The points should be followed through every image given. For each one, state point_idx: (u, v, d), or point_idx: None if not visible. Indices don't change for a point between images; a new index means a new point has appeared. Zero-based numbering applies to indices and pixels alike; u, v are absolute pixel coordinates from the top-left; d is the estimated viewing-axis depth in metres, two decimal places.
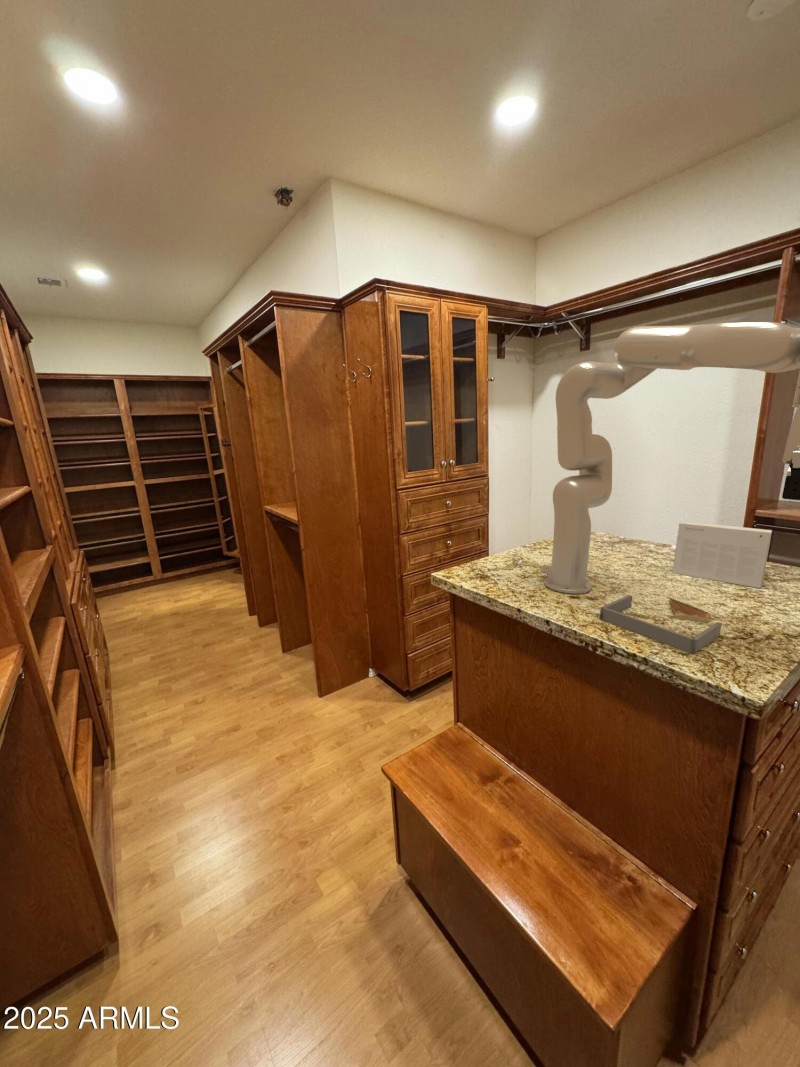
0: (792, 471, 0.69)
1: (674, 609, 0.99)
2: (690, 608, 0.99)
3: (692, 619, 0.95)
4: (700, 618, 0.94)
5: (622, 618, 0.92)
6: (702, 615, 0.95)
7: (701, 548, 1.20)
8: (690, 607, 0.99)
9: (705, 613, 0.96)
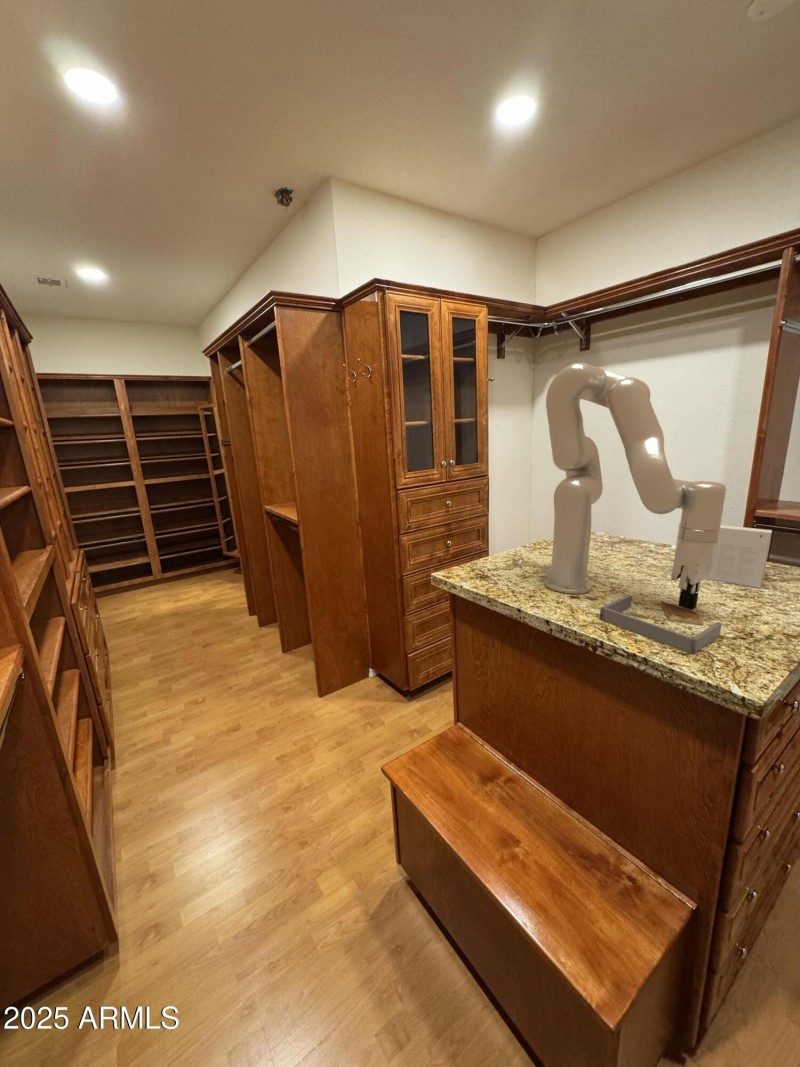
0: (683, 589, 0.98)
1: (668, 612, 0.97)
2: (683, 611, 0.98)
3: (687, 622, 0.94)
4: (695, 621, 0.93)
5: (622, 618, 0.92)
6: (696, 618, 0.94)
7: None
8: (682, 610, 0.98)
9: (698, 616, 0.95)
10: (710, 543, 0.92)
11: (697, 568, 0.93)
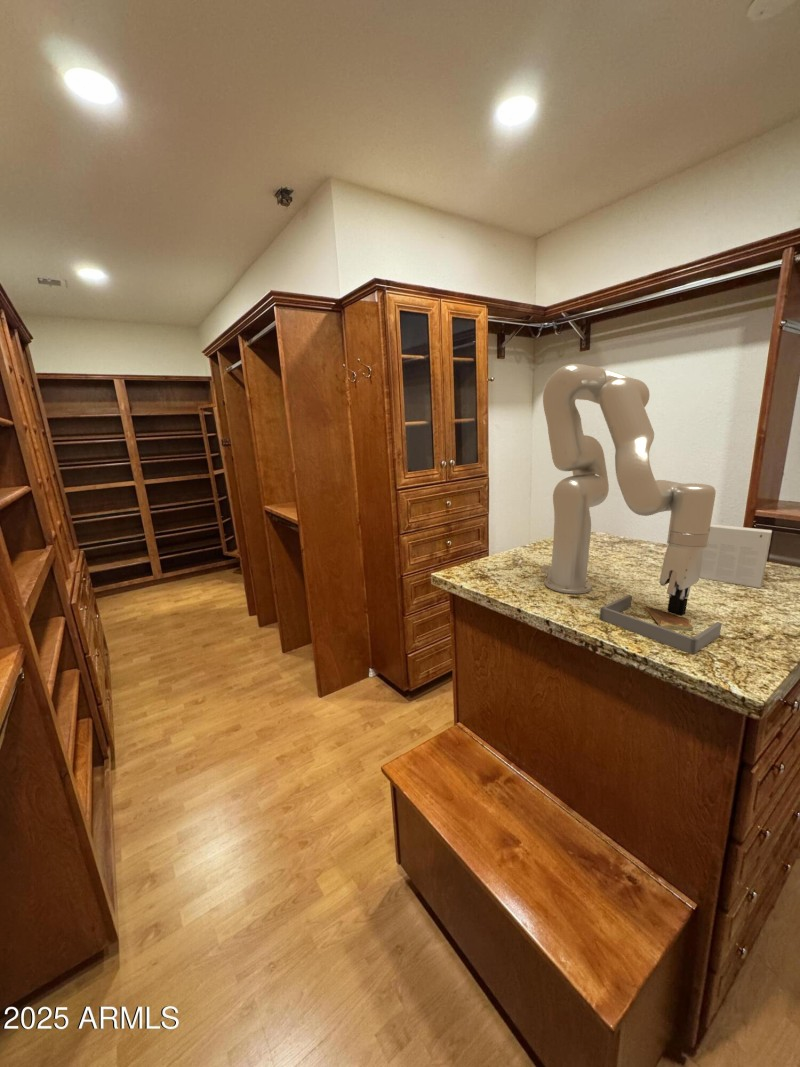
0: (671, 595, 0.95)
1: (656, 618, 0.94)
2: (670, 616, 0.95)
3: (677, 628, 0.91)
4: (685, 626, 0.90)
5: (622, 618, 0.92)
6: (686, 623, 0.91)
7: None
8: (669, 614, 0.96)
9: (686, 620, 0.93)
10: (699, 547, 0.89)
11: (686, 574, 0.90)
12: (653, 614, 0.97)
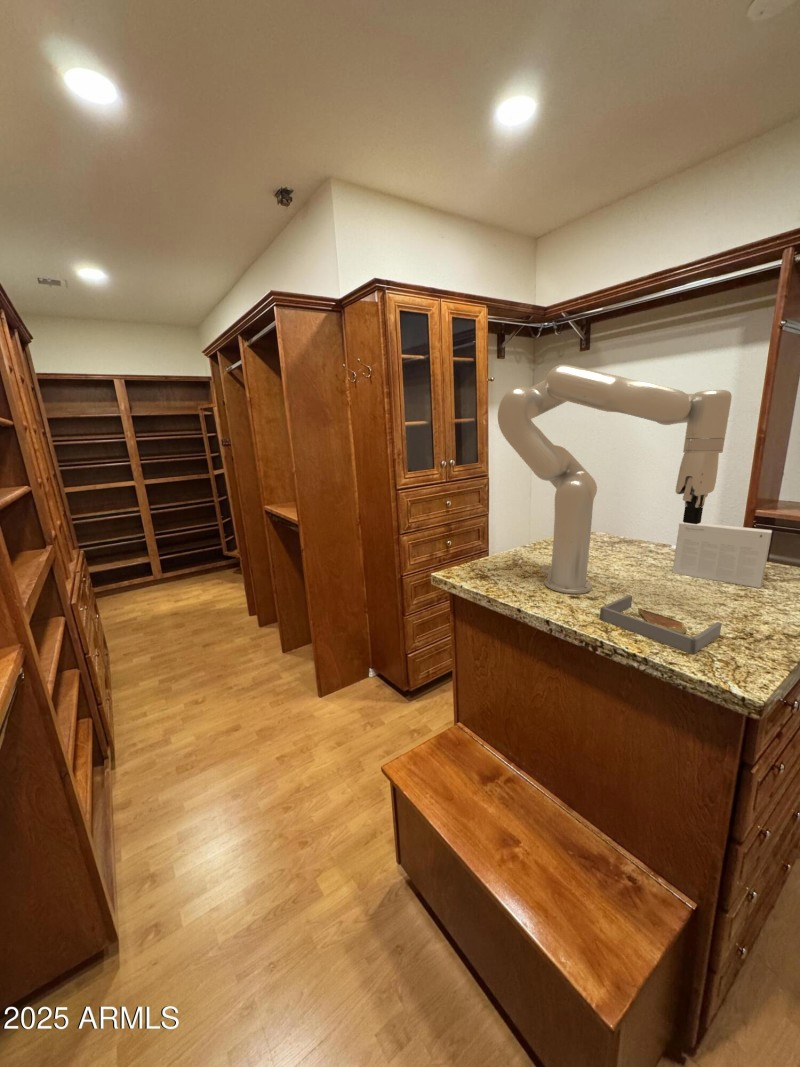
0: (687, 503, 0.98)
1: (649, 621, 0.93)
2: (663, 619, 0.94)
3: None
4: (679, 629, 0.89)
5: (622, 618, 0.92)
6: (679, 626, 0.90)
7: (701, 548, 1.20)
8: (662, 617, 0.95)
9: (680, 623, 0.92)
10: (715, 451, 0.92)
11: (702, 478, 0.93)
12: (646, 617, 0.95)
